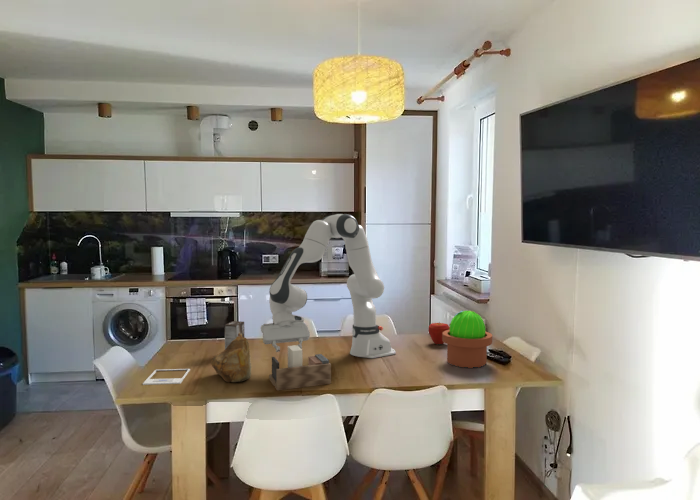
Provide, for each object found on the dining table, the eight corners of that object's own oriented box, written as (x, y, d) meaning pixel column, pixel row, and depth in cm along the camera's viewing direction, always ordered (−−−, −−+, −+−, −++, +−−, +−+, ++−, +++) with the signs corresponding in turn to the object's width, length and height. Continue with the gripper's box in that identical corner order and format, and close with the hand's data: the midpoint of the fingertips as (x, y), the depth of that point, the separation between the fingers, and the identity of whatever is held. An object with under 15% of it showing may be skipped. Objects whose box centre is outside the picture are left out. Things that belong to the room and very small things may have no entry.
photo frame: (142, 383, 199) (155, 369, 216) (142, 385, 199) (155, 371, 217) (180, 381, 200) (190, 368, 218) (180, 384, 200) (190, 370, 218)
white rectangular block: (297, 373, 207) (297, 345, 206) (302, 379, 199) (302, 349, 199) (287, 374, 205) (287, 346, 205) (292, 380, 198) (292, 350, 197)
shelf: (320, 373, 214) (320, 350, 213) (330, 383, 201) (330, 359, 200) (269, 379, 206) (269, 355, 205) (277, 390, 193) (276, 364, 192)
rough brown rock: (216, 369, 221) (213, 337, 219) (254, 365, 222) (251, 333, 221) (207, 389, 198) (202, 353, 196) (249, 384, 199) (245, 348, 198)
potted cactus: (499, 362, 231) (501, 309, 229) (476, 373, 215) (477, 315, 213) (457, 353, 246) (458, 303, 244) (433, 363, 229) (434, 309, 228)
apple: (449, 342, 268) (450, 320, 267) (449, 347, 257) (449, 324, 257) (428, 341, 270) (429, 318, 270) (427, 345, 260) (427, 323, 259)
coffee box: (232, 353, 245) (232, 320, 244) (245, 353, 244) (244, 321, 243) (224, 358, 236) (224, 324, 235) (237, 359, 235) (236, 325, 234)
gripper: (260, 320, 213) (265, 348, 205) (306, 316, 220) (313, 343, 212) (258, 328, 217) (263, 356, 209) (304, 324, 225) (310, 351, 217)
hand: (289, 350), depth 211 cm, fingers open, 8 cm apart
